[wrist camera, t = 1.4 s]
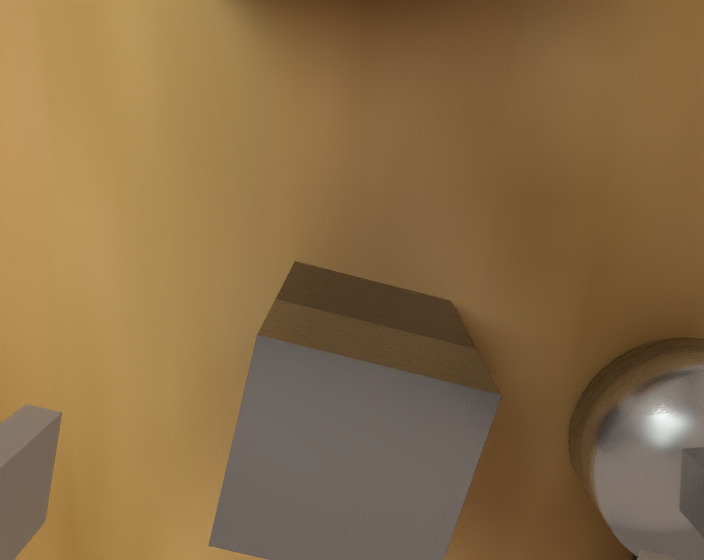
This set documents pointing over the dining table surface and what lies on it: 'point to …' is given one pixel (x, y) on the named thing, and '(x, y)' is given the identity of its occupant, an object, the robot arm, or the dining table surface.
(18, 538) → the robot arm
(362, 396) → the grey rectangular block
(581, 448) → the metal ladle
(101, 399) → the dining table surface
